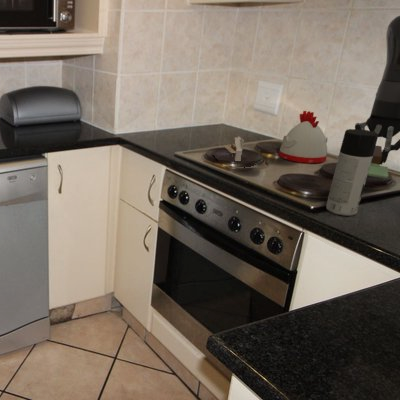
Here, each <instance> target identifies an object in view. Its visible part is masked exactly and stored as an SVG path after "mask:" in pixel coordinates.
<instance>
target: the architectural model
mask: <svg viewBox="0 0 400 400" xmlns="http://www.w3.org/2000/svg"><path fill="white" fill-rule="evenodd" d="M244 143H245V140H244V139H243V138H242V137H241V136H239V135H237V137H236V136H235V137H234V144H235V145H234V144H233V142H231V143H230V144H231V145H224V148H225V149H226V150H227V151H228V152H229V153H230V154H232V157H233V159H235V161H241V155H242V154H243V150H244ZM229 168H235V169H236V168H238V169H261V167H260V166H259V165H257V164H256V165H254V166H251V167H245V168H244V167H229Z"/></svg>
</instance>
